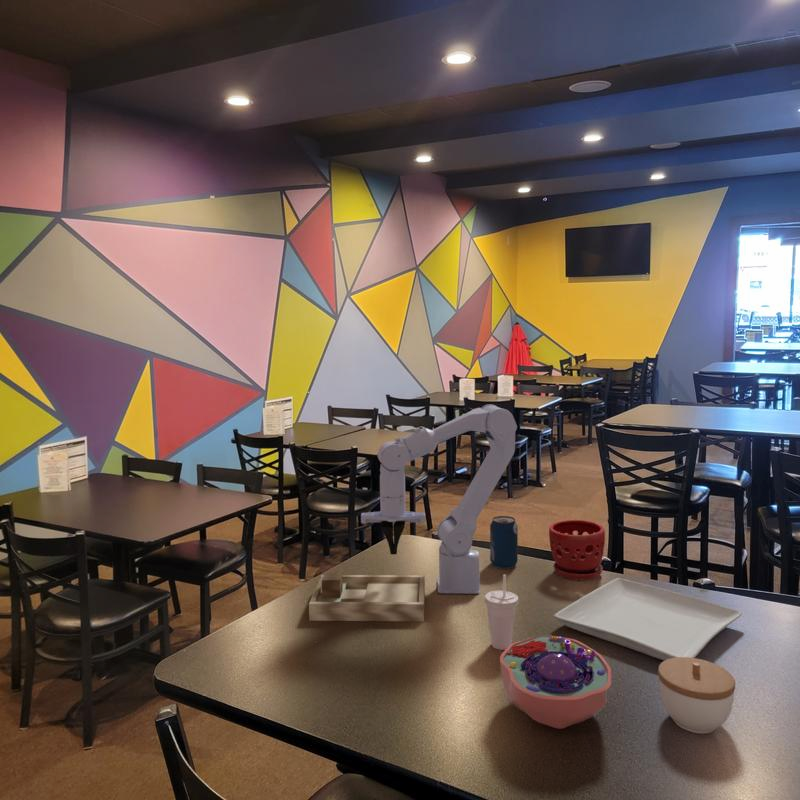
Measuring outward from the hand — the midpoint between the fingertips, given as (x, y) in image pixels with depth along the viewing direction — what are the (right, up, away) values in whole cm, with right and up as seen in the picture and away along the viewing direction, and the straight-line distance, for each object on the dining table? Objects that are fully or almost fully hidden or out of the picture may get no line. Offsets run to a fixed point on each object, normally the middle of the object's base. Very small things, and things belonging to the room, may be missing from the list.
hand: (393, 552), depth 152 cm
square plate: (+51, -11, -18) cm, 56 cm away
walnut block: (-14, -8, -6) cm, 17 cm away
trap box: (-5, -10, -6) cm, 13 cm away
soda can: (+28, -7, +18) cm, 34 cm away
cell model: (+26, -15, -47) cm, 56 cm away
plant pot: (+45, -8, +11) cm, 47 cm away
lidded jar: (+47, -15, -50) cm, 70 cm away
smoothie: (+21, -12, -25) cm, 35 cm away
